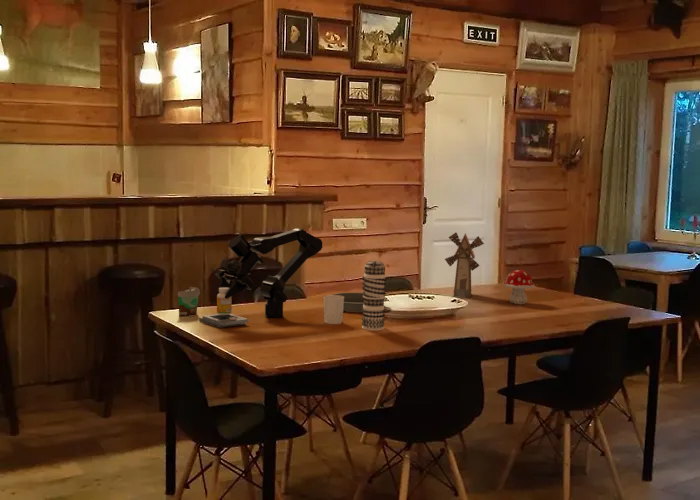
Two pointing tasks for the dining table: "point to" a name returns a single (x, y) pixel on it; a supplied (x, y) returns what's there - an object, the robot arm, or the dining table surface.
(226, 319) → the grey knobbed square frame
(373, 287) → the decorative candle
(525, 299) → the decorative mushroom
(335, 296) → the white cup
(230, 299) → the supplement bottle
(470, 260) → the windmill
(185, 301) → the food container
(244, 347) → the dining table surface
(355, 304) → the cake pan
